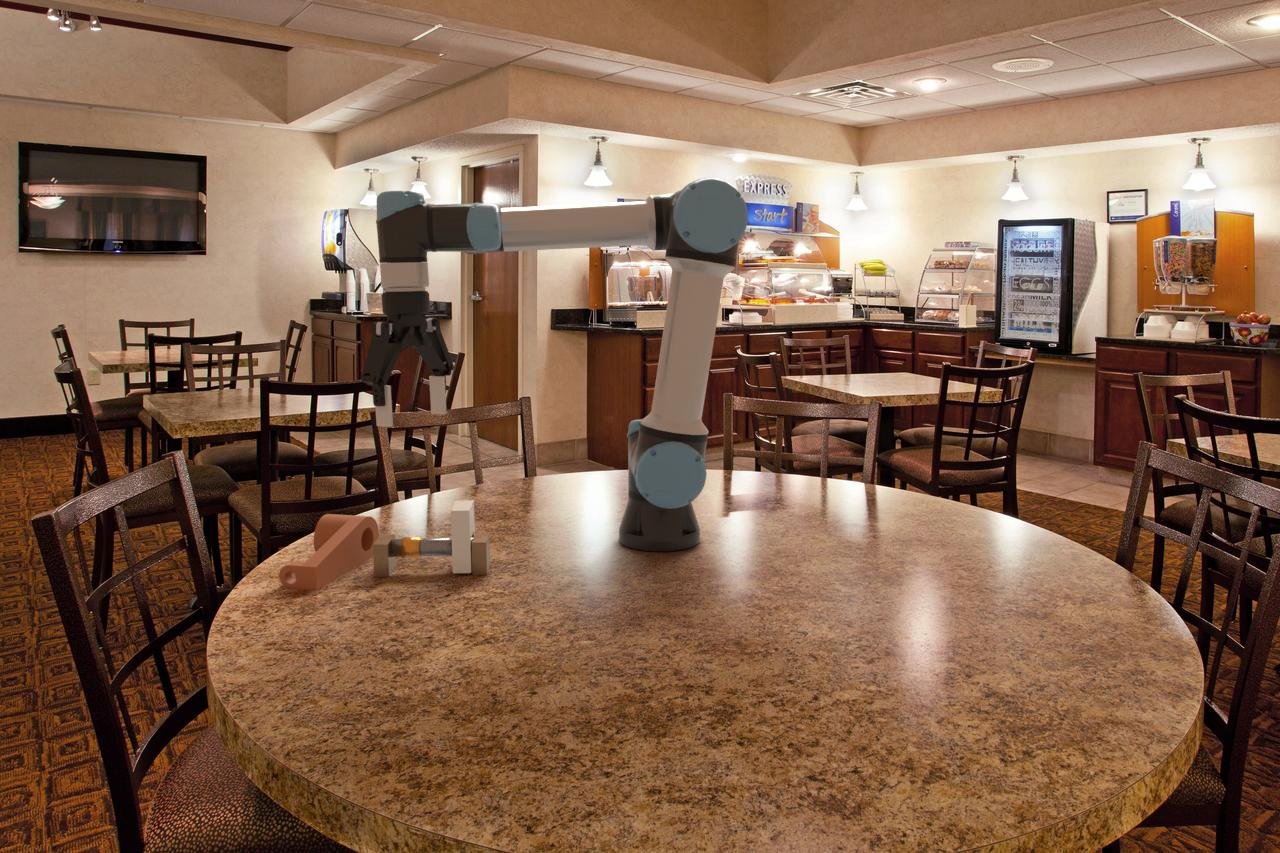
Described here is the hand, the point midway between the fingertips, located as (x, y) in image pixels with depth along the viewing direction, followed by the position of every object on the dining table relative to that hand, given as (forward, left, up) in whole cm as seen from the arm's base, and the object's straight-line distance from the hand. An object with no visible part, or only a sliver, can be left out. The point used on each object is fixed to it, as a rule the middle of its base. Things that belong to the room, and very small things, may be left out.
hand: (412, 420), depth 154 cm
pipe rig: (-3, +1, -25) cm, 26 cm away
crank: (+15, -1, -26) cm, 30 cm away
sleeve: (-8, +1, -25) cm, 27 cm away
